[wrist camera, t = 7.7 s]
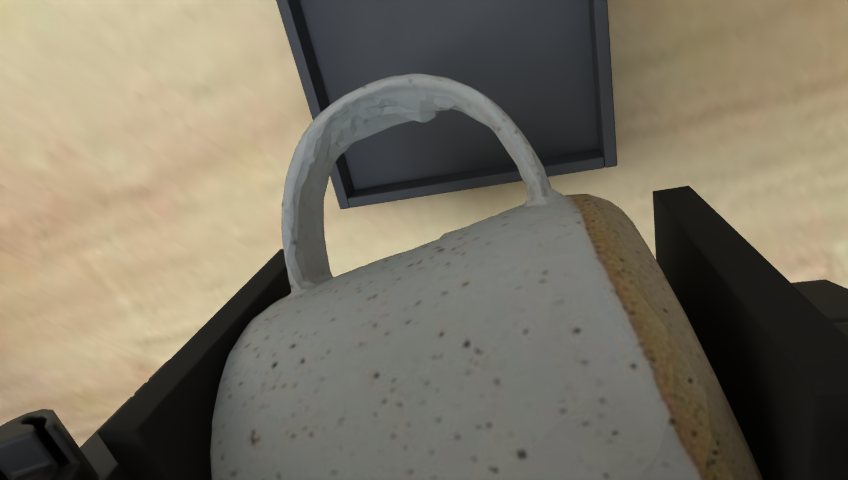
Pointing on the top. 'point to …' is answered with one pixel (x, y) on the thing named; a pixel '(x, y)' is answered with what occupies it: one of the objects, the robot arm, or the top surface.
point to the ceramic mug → (470, 339)
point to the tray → (468, 64)
